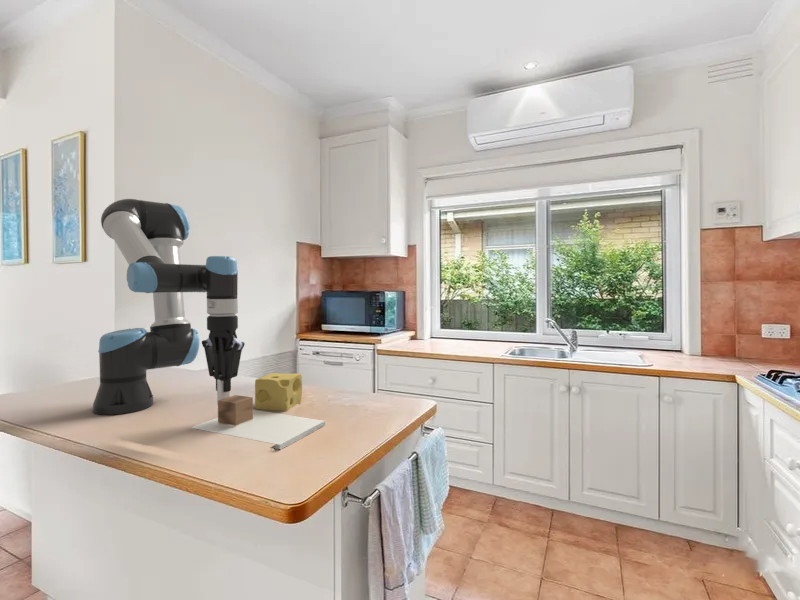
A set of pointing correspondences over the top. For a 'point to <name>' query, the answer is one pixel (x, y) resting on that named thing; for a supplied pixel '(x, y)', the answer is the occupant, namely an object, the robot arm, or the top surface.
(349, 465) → the top surface
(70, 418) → the top surface
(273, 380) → the cheese
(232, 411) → the walnut block
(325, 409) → the top surface
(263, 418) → the cutting board
